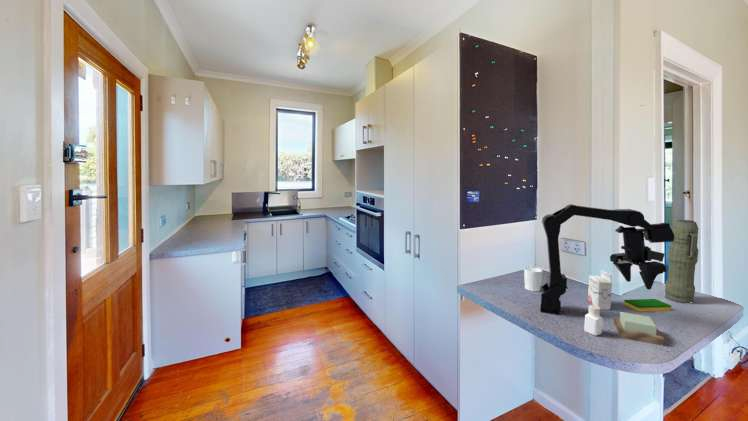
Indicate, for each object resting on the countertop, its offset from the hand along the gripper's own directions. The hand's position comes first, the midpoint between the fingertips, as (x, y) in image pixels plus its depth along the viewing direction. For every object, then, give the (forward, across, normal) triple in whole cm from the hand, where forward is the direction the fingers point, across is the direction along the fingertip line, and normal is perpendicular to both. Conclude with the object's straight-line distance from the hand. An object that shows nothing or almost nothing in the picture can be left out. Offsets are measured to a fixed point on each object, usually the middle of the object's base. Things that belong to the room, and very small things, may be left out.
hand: (638, 285), depth 108 cm
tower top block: (+12, -8, +7) cm, 16 cm away
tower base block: (+14, -8, +8) cm, 18 cm away
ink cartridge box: (+13, +16, +5) cm, 21 cm away
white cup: (+10, +33, +24) cm, 43 cm away
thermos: (+18, +23, -32) cm, 43 cm away
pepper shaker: (+12, -8, +22) cm, 26 cm away
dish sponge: (+16, +15, -13) cm, 25 cm away
